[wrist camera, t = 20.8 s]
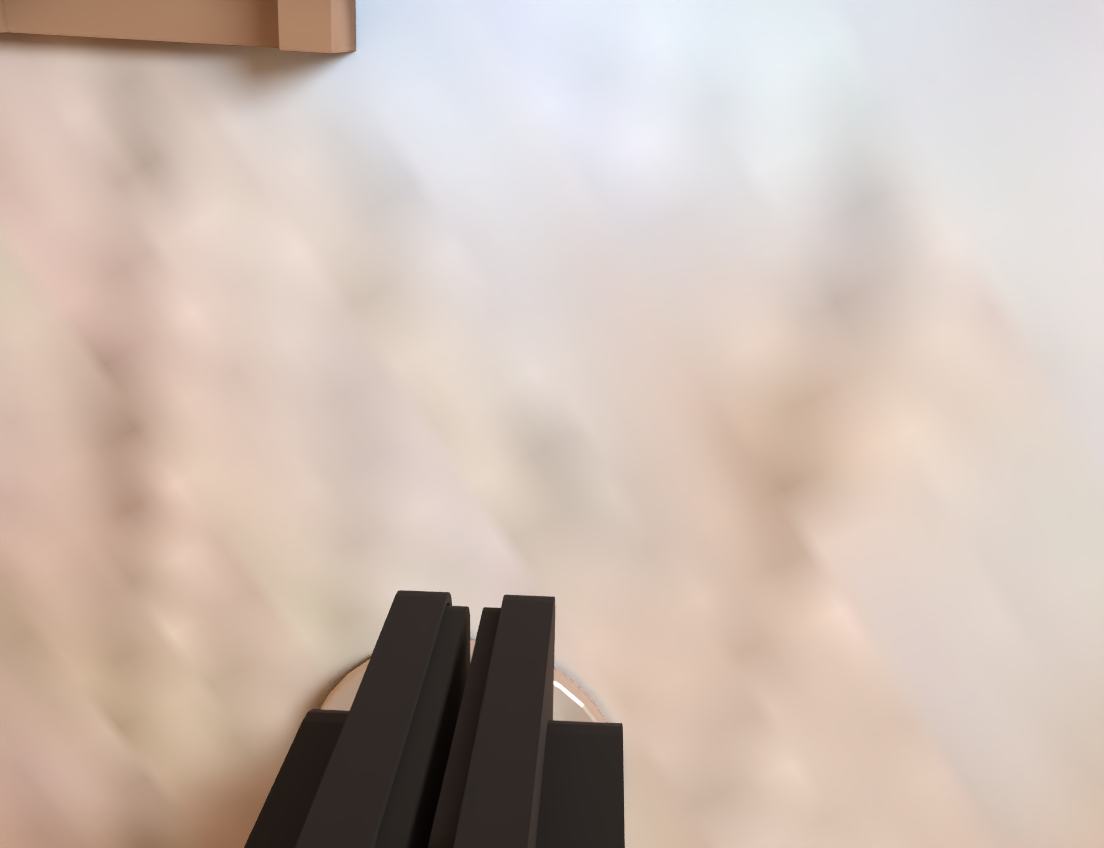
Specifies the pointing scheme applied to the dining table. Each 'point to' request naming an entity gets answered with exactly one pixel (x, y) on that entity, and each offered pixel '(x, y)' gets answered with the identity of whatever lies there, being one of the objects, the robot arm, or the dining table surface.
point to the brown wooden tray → (193, 21)
